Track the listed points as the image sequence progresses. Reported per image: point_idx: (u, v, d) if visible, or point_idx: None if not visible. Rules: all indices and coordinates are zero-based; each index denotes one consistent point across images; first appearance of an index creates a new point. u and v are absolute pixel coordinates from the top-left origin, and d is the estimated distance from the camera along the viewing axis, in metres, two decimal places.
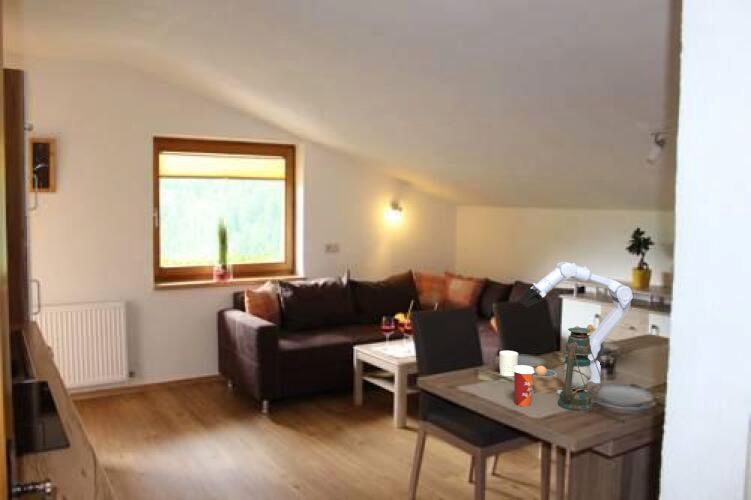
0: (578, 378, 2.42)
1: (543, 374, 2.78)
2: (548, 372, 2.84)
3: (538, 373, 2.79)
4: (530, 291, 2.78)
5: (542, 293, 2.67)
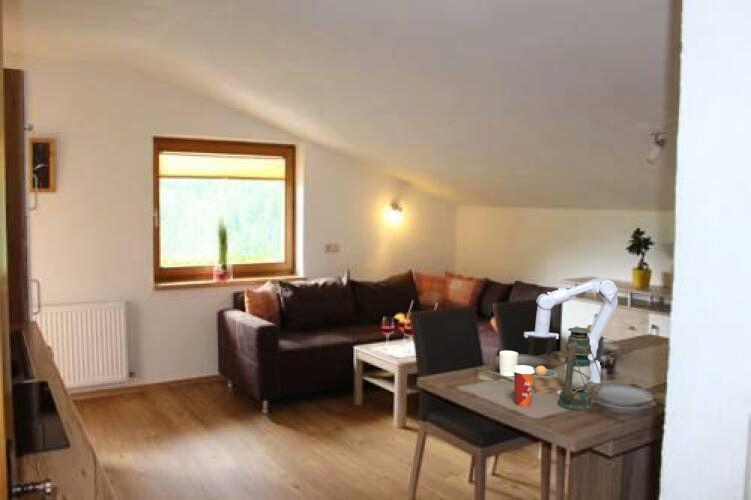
0: (578, 378, 2.42)
1: (543, 374, 2.78)
2: (548, 372, 2.84)
3: (538, 373, 2.79)
4: (548, 340, 2.80)
5: (524, 334, 2.78)
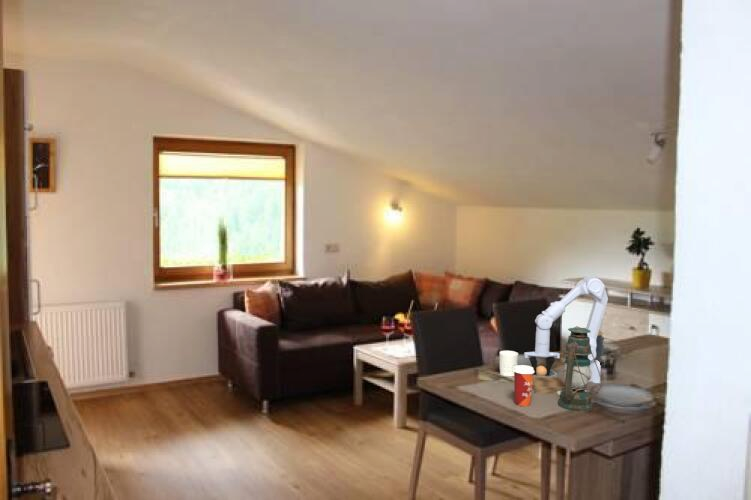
0: (578, 378, 2.42)
1: (543, 374, 2.78)
2: None
3: (538, 373, 2.79)
4: (547, 359, 2.81)
5: (524, 354, 2.80)
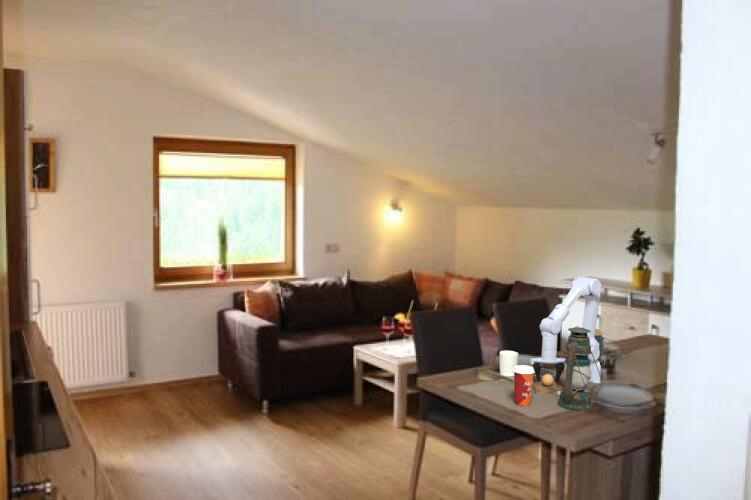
0: (578, 378, 2.42)
1: (550, 383, 2.65)
2: (548, 372, 2.84)
3: (544, 382, 2.66)
4: (556, 366, 2.68)
5: (530, 360, 2.67)
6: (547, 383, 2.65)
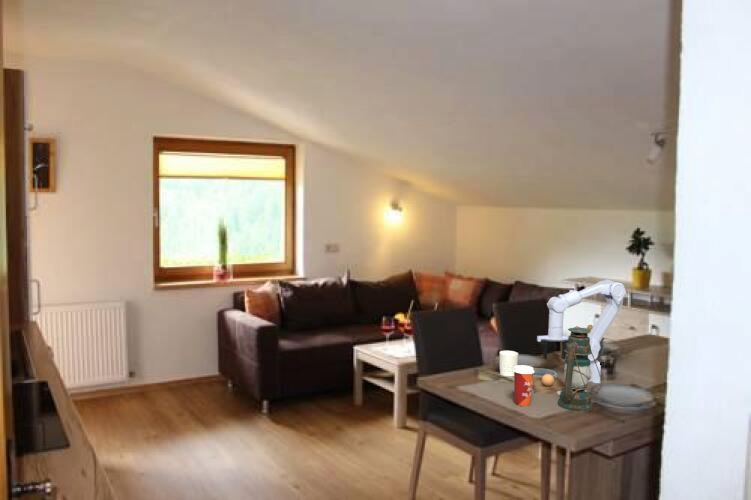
0: (578, 378, 2.42)
1: (550, 383, 2.65)
2: (548, 372, 2.84)
3: (545, 382, 2.66)
4: (563, 343, 2.76)
5: (537, 338, 2.75)
6: (547, 383, 2.65)
